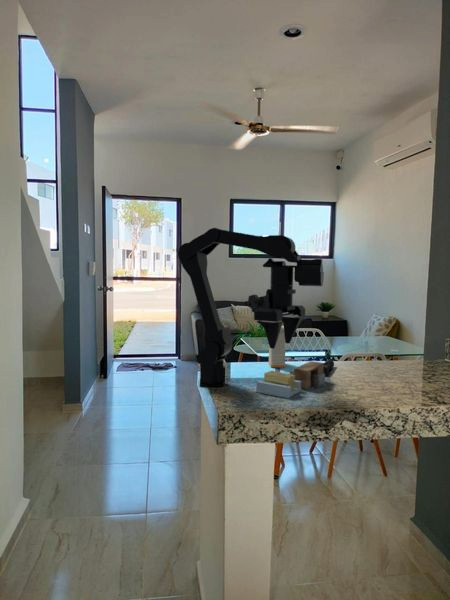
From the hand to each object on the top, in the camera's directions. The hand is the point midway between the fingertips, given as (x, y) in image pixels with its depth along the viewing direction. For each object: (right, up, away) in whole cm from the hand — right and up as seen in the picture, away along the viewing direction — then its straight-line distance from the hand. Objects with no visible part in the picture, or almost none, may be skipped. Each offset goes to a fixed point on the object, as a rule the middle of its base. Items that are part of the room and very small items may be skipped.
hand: (280, 345), depth 109 cm
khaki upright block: (0, -11, +1) cm, 11 cm away
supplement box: (+3, -10, +32) cm, 34 cm away
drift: (+9, -12, +8) cm, 17 cm away
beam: (+9, -12, +9) cm, 17 cm away
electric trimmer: (+17, -11, +25) cm, 32 cm away
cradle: (0, -12, +1) cm, 12 cm away
